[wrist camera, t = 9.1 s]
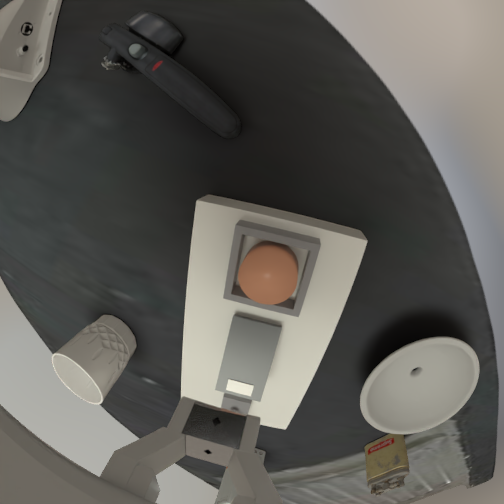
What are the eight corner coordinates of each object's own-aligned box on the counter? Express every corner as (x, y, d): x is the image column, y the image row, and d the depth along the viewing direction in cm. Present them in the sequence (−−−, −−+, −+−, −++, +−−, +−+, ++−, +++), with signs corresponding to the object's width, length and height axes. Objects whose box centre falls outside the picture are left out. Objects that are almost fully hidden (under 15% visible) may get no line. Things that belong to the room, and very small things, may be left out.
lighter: (398, 427, 32) (406, 480, 23) (407, 434, 32) (416, 483, 23) (360, 446, 35) (362, 496, 25) (371, 452, 35) (374, 499, 26)
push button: (249, 234, 22) (243, 244, 20) (304, 247, 22) (304, 259, 20) (240, 282, 24) (233, 296, 22) (290, 295, 24) (289, 310, 21)
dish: (329, 355, 29) (331, 387, 24) (440, 283, 24) (460, 307, 19) (389, 420, 32) (394, 447, 27) (474, 370, 26) (487, 394, 22)
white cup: (86, 314, 34) (42, 354, 25) (121, 305, 32) (73, 352, 23) (113, 358, 36) (78, 402, 27) (151, 355, 34) (114, 407, 25)
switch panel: (208, 194, 25) (189, 203, 21) (360, 230, 24) (372, 247, 19) (188, 386, 35) (176, 410, 30) (287, 412, 33) (284, 439, 29)
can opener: (110, 57, 22) (76, 47, 16) (154, 10, 19) (125, -10, 14) (212, 164, 24) (188, 169, 19) (270, 112, 22) (261, 101, 17)
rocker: (234, 313, 25) (232, 315, 24) (281, 325, 25) (281, 328, 24) (216, 385, 25) (214, 390, 24) (260, 397, 25) (260, 402, 24)
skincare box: (244, 442, 38) (227, 502, 27) (266, 450, 38) (254, 509, 27) (229, 453, 40) (212, 507, 29) (250, 461, 41) (236, 514, 29)
